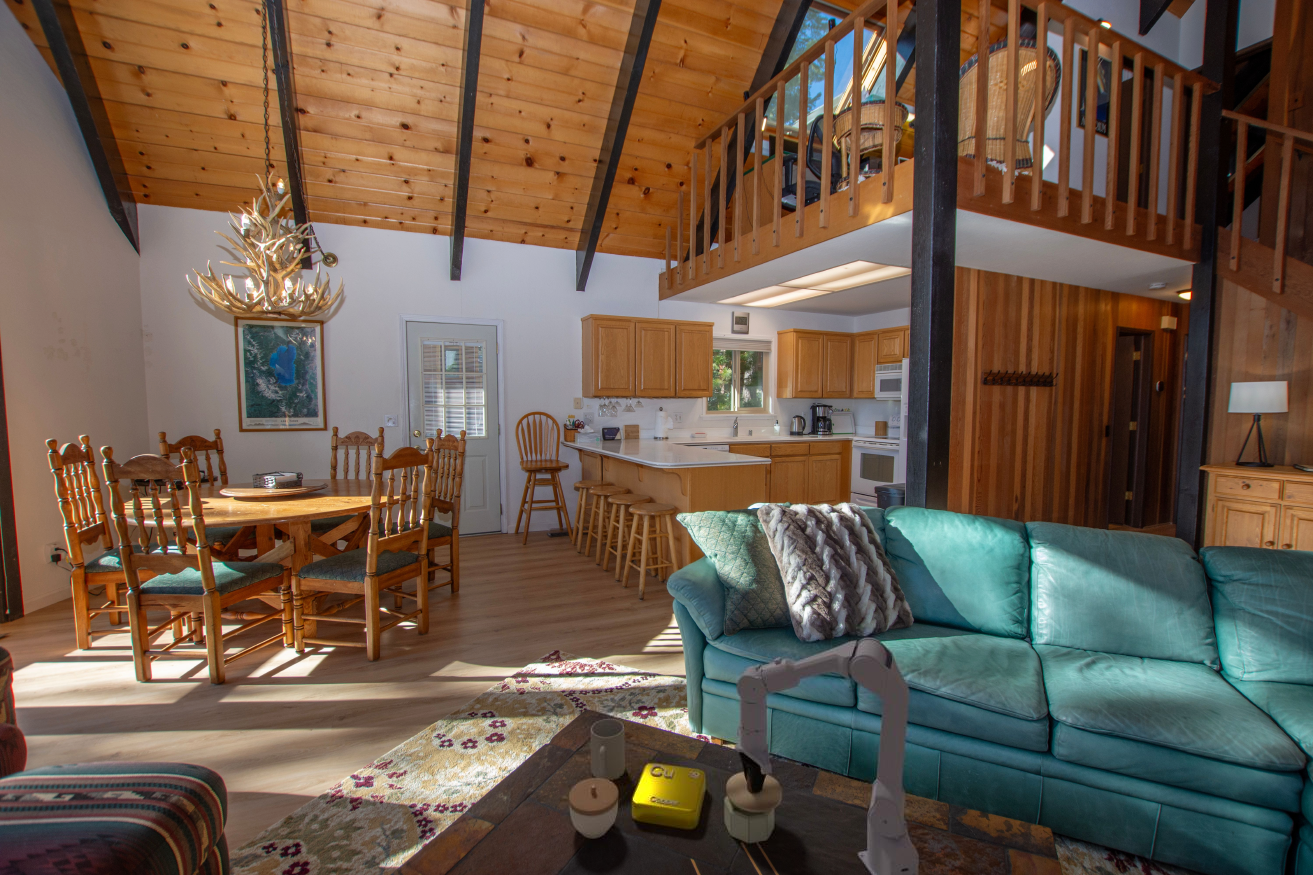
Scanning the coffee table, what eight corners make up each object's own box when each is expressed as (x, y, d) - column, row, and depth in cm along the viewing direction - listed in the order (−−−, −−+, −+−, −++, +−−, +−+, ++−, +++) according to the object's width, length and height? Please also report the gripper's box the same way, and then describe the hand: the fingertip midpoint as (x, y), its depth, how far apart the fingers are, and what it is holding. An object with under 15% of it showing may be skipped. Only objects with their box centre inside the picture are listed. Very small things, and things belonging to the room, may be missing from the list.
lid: (792, 806, 118) (791, 786, 118) (738, 816, 115) (737, 796, 115) (768, 770, 130) (768, 752, 129) (718, 779, 127) (718, 760, 127)
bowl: (780, 837, 119) (780, 814, 119) (735, 845, 117) (735, 822, 116) (761, 804, 129) (761, 783, 128) (719, 812, 126) (719, 790, 126)
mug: (595, 758, 146) (594, 717, 146) (627, 760, 145) (627, 719, 145) (584, 789, 135) (583, 745, 134) (619, 792, 134) (618, 747, 133)
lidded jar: (611, 850, 116) (610, 806, 116) (562, 842, 118) (561, 799, 118) (624, 813, 127) (623, 773, 126) (579, 807, 129) (578, 767, 128)
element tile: (629, 821, 125) (629, 800, 124) (646, 777, 139) (646, 759, 139) (696, 832, 121) (696, 811, 121) (706, 786, 136) (706, 767, 135)
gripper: (724, 709, 128) (724, 766, 129) (748, 746, 114) (748, 811, 114) (753, 705, 129) (753, 762, 130) (781, 741, 115) (780, 805, 116)
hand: (753, 784), depth 122 cm, fingers closed on lid, 3 cm apart
